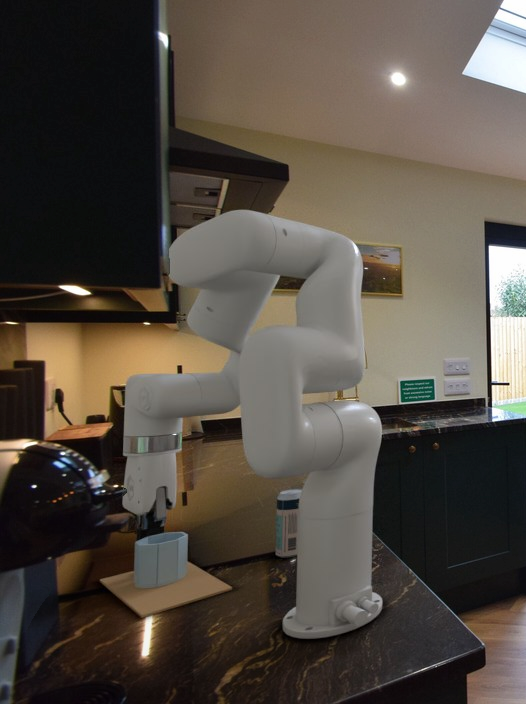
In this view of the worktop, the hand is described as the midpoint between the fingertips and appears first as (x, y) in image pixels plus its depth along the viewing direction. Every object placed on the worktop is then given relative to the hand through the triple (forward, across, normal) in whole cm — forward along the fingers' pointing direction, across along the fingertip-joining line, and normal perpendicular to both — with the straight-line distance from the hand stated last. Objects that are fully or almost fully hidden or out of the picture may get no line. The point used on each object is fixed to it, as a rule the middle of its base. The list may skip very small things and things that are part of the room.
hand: (149, 549), depth 91 cm
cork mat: (+4, +8, 0) cm, 9 cm away
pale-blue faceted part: (0, +9, 0) cm, 9 cm away
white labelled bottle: (+4, +10, +18) cm, 21 cm away
